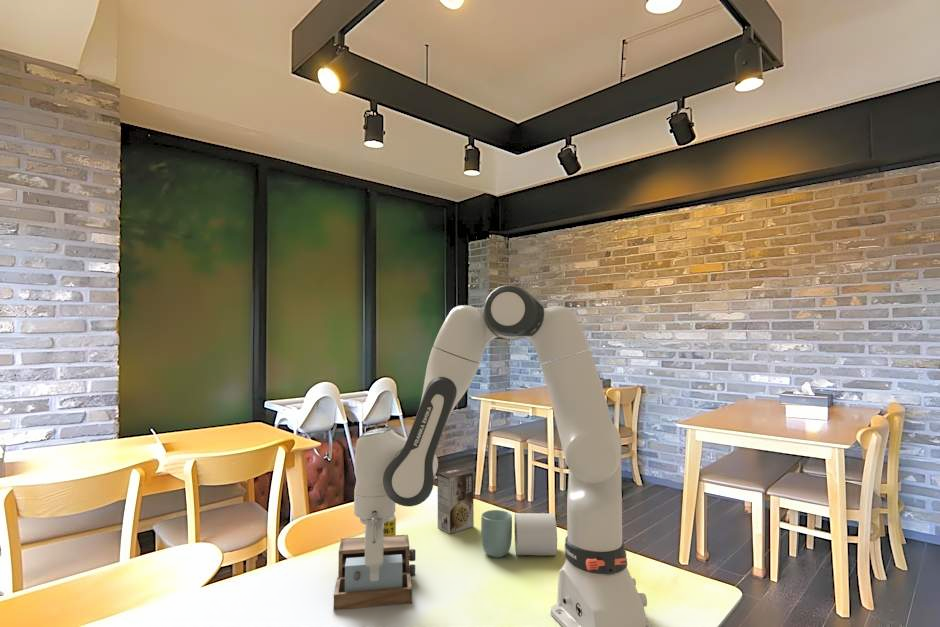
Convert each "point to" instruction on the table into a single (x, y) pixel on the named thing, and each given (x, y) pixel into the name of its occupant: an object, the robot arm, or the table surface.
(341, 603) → the cabinet
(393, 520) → the supplement bottle
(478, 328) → the robot arm
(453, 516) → the coffee box
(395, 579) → the door
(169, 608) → the table surface
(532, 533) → the toilet paper
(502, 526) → the cup
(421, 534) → the table surface
